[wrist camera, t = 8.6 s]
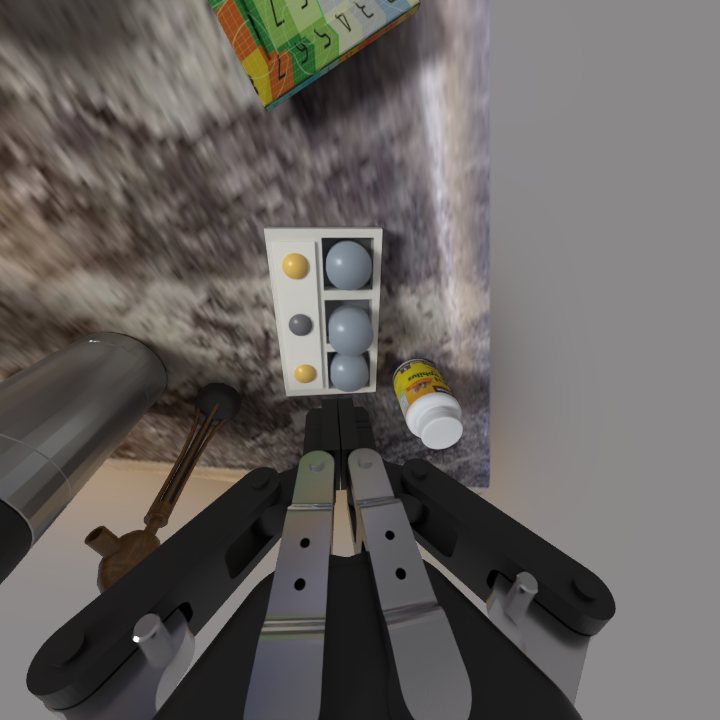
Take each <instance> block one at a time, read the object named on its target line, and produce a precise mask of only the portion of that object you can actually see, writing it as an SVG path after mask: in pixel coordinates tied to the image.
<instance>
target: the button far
mask: <svg viewBox="0 0 720 720" xmlns="http://www.w3.org/2000/svg"><path fill="white" fill-rule="evenodd" d="M330 368H331V381H332V383H333V385H334V386H335V387H336V388H337V389H339V390H341V391H344V392H354V391H357V390H359V389H361V388H362V387H364V386H365V384H366V383H367V381H368V378H369V371H368V367H367V363H366V359H365V356H364V354H363V353H362V354H360V355H357V356H344V355H341V354H339V353H338V352H334V354H333V355H332V357H331V361H330Z"/></svg>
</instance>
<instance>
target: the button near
mask: <svg viewBox="0 0 720 720" xmlns="http://www.w3.org/2000/svg"><path fill="white" fill-rule="evenodd" d="M326 272H327V275H328V278H329V280H330V281H331V282H332V283H333V284H334V285H335V286H336V287H338V288H340V289H342V290H347V291H351V290H356V289H358V288H360V287H362V286H363V285H364V284H365V283H366V282H367V281H368V279H369V278H370V275H371V272H372V262H371V258H370V256H369V254H368V253H367V251H366V250H365V249H364V248H363V247H362V245H361V244H359V243H358V242H356V241H354V240H351V239H343V240H339V241H337V242H336V243H334V244H333V245H332V246H331V247H330V249H329V250H328V252H327V256H326Z"/></svg>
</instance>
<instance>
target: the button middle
mask: <svg viewBox="0 0 720 720" xmlns="http://www.w3.org/2000/svg"><path fill="white" fill-rule="evenodd" d="M373 338H374V332H373V328H372V326H371V323H370V320H369V318H368V315H367V313H366V312H365V311H364V310H363V309H362V308H361V307H359V306H356V305H352V304H347V305H342V306H340V307H338V308H337V309H335V310H334V311H333V312H332V314H331V316H330V318H329V341H330V344H331V346H332V348H333V349H334V350H335V351H336V352H338V353H339V354H341V355H344V356H357V355H360V354H362V353H364V352H365V351H367V350H368V349H369V347H370V346H371V344H372V342H373Z"/></svg>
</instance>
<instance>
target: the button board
mask: <svg viewBox="0 0 720 720" xmlns="http://www.w3.org/2000/svg"><path fill="white" fill-rule="evenodd" d="M382 230H383V229H382V228H380V227H314V226H269V227H266V228H264V232H265V240H266V247H267V255H268V263H269V270H270V278H271V285H272V293H273V300H274V308H275V315H276V323H277V330H278V338H279V346H280V353H281V361H282V368H283V376H284V383H285V391H286V396H302V395H322V394H342V393H361V392H376V371H377V347H378V324H379V300H380V277H381V253H382ZM343 239H351V240H354V241H356V242H358V243H359V244H361V245H362V247H363V248H364V249H365V250H366V251H367V253H368V254H369V256H370V258H371V262H372V272H371V275H370V278H369V279H368V281H367V282H366V283H365V284H364V285H363V286H362V287H360V288H358V289H356V290H351V291H347V290H342V289H340V288H338V287H336V286H335V285H334V284H333V283H332V282H331V281H330V280H329V278H328V275H327V272H326V256H327V252H328V250H329V249H330V247H331V246H332V245H333V244H334V243H336V242H337V241H339V240H343ZM272 241H314V242H315V259H316V276H317V293H318V310H319V327H320V344H321V361H322V377H323V389H302V390H290V389H289V381H288V373H287V365H286V357H285V349H284V341H283V333H282V325H281V317H280V309H279V301H278V293H277V285H276V277H275V269H274V261H273V252H272V244H271V242H272ZM347 304H352V305H356V306H359V307H361V308H362V309H363V310H364V311H365V312H366V313H367V315H368V318H369V320H370V323H371V326H372V328H373V332H374V338H373V342H372V344H371V346H370V347H369V349H368V350H367V351H365V352H364V353H363V354H364V356H365V359H366V363H367V367H368V371H369V378H368V381H367V383H366V384H365V386H364V387H362V388H361V389H359V390H357V391H354V392H344V391H341V390H339V389H337V388H336V387H335V386H334V385H333V383H332V381H331V368H330V361H331V357H332V355H333V354H334V352H336V351H335V350H334V349H333V348H332V346H331V344H330V341H329V318H330V316H331V314H332V312H333V311H334V310H335V309H337V308H338V307H340V306H342V305H347Z"/></svg>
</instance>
